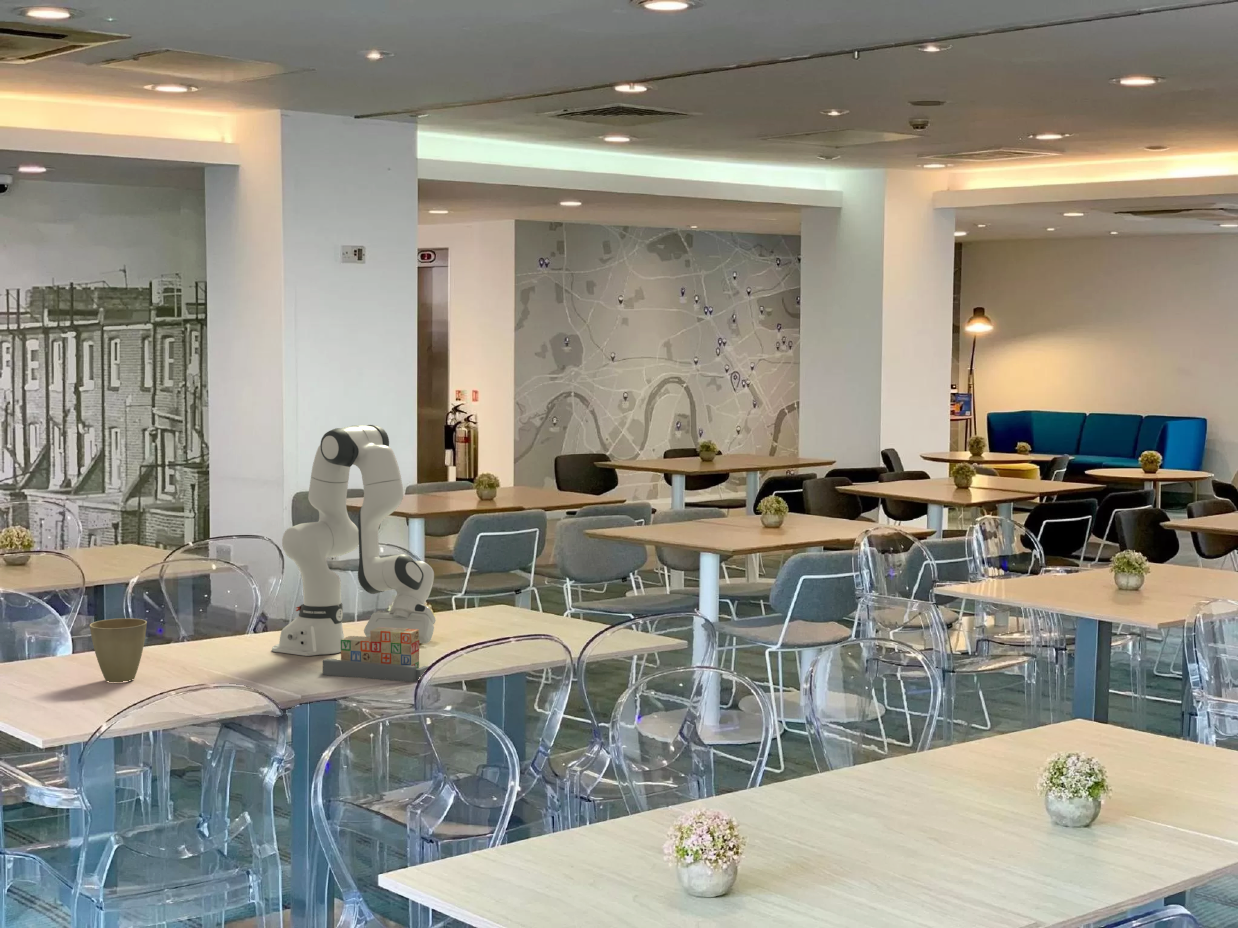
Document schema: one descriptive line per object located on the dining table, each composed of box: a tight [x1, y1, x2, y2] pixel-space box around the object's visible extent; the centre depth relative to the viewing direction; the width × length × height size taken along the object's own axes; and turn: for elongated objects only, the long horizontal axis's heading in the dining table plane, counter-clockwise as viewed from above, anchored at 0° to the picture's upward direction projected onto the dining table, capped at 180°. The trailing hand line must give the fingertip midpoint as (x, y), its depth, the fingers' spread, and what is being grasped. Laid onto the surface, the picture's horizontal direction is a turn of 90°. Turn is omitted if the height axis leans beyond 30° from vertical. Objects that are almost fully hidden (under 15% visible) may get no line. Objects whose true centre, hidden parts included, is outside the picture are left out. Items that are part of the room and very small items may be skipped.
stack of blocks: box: [340, 627, 420, 669], centre depth 433 cm, size 21×6×12 cm, turn 75°
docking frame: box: [322, 658, 430, 683], centre depth 428 cm, size 30×7×4 cm, turn 70°
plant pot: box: [89, 617, 148, 682], centre depth 421 cm, size 15×15×16 cm
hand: (390, 652), depth 437 cm, fingers closed
